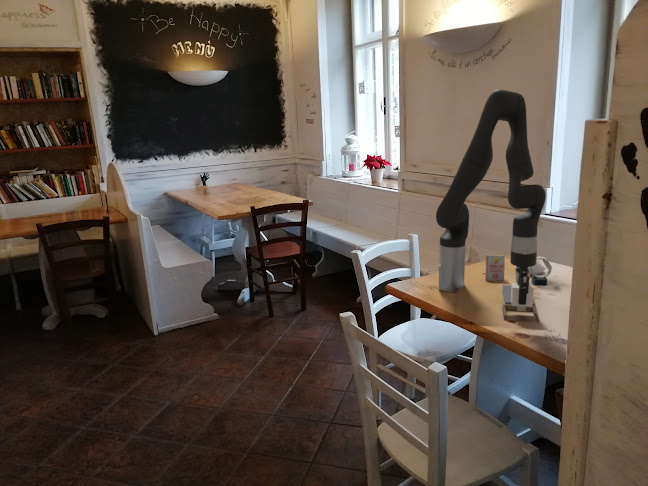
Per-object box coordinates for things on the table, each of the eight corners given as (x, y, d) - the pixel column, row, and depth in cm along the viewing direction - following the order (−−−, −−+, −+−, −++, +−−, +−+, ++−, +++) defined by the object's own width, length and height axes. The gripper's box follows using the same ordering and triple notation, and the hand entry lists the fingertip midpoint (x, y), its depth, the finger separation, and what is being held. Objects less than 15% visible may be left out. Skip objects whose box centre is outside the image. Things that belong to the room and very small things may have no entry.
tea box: (485, 277, 203) (486, 253, 201) (502, 278, 202) (504, 254, 199) (485, 280, 200) (486, 256, 197) (503, 281, 198) (505, 256, 196)
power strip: (505, 311, 169) (505, 300, 168) (502, 294, 185) (502, 283, 184) (534, 313, 167) (534, 301, 166) (528, 295, 182) (529, 284, 181)
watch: (552, 287, 189) (554, 259, 187) (529, 287, 191) (531, 259, 188) (548, 282, 195) (550, 255, 192) (526, 282, 196) (528, 254, 193)
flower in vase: (544, 277, 200) (549, 215, 194) (514, 275, 204) (517, 214, 198) (543, 268, 212) (547, 209, 206) (514, 266, 216) (517, 208, 210)
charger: (511, 311, 160) (512, 287, 159) (510, 306, 165) (511, 282, 163) (532, 312, 159) (533, 288, 157) (530, 307, 164) (531, 283, 162)
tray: (503, 324, 160) (504, 315, 159) (502, 312, 169) (502, 304, 168) (537, 326, 157) (538, 317, 156) (534, 314, 166) (535, 306, 165)
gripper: (509, 243, 165) (507, 292, 169) (512, 255, 151) (510, 308, 156) (534, 243, 163) (531, 294, 167) (540, 256, 149) (536, 310, 154)
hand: (521, 300), depth 161 cm, fingers closed on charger, 5 cm apart
